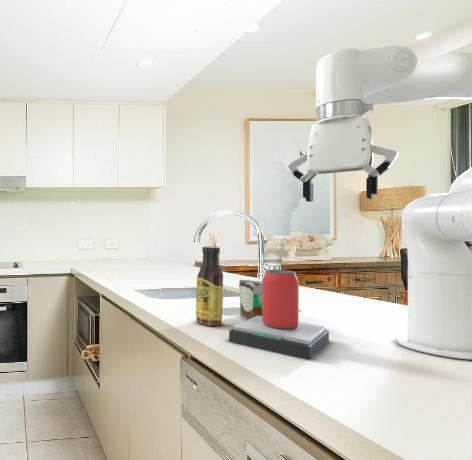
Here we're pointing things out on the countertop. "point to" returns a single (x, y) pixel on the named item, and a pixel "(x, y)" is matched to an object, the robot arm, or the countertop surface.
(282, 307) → the beer can
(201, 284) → the sauce bottle
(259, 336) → the scale
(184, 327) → the countertop surface
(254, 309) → the food container
